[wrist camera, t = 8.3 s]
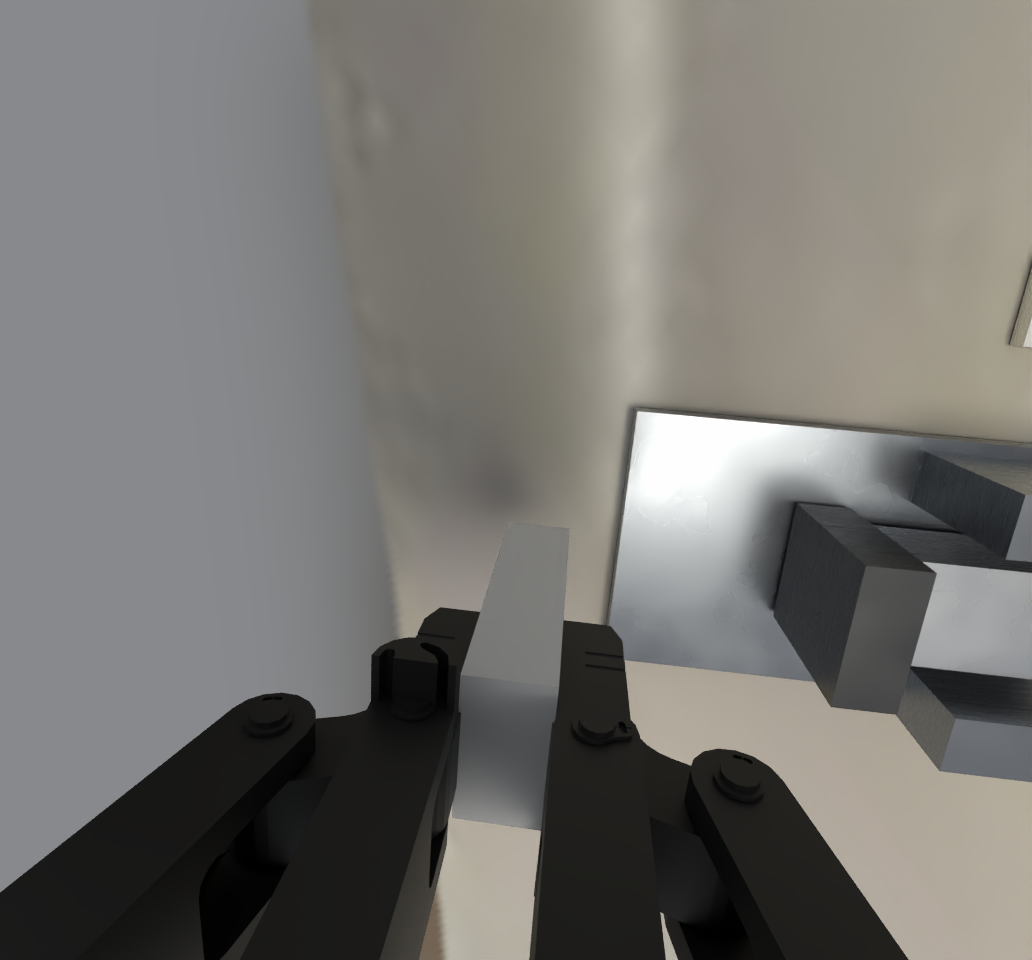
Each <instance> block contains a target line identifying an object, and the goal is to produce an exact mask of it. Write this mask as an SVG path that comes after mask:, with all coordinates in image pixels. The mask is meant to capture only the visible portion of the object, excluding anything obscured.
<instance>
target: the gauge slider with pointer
mask: <svg viewBox="0 0 1032 960" xmlns="http://www.w3.org/2000/svg"><path fill="white" fill-rule="evenodd" d="M773 616H774V618H775V620H776V621H777V623H778V624H779V626H780V627H781V629H782V631H783V632H784V634H785V635H786V637H787V638H788V640H789V642H790V643H791V645H792V646H793V648H794V650H795V651H796V653H797V654H798V656H799V657H800V659H801V661H802V662H803V664H804V665H805V667H806V668H807V670H808V672H809V673H810V675H811V676H812V678H813V679H814V681H815V683H816V684H817V686H818V687H819V689H820V691H821V692H822V694H823V695H824V697H825V698H826V700H827V702H828V703H829V705H830V706H831V707H836V708H844V709H853V710H861V711H870V712H878V713H887V714H896V715H897V714H898V710H899V707H900V703H901V699H902V696H903V692H904V689H905V685H906V682H907V678H908V675H909V671H910V668H911V666H917V667H926V668H935V669H943V670H952V671H961V672H970V673H979V674H988V675H997V676H1006V677H1015V678H1024V679H1032V562H1026V561H1016V560H1006V559H1004V558H1002V557H1001V556H999V555H997V554H996V553H994V552H992V551H991V550H989V549H987V548H986V547H984V546H983V545H981V544H979V543H978V542H976V541H974V540H973V539H971V538H969V537H968V536H966V535H964V534H956V533H946V532H936V531H926V530H916V529H906V528H896V527H886V526H876V525H872V524H871V523H870V522H868V521H867V520H866V519H864V518H863V517H862V516H860V515H859V514H858V513H857V512H855V511H854V510H853V509H851V508H843V507H833V506H823V505H813V504H803V503H797V504H796V509H795V514H794V519H793V524H792V528H791V533H790V538H789V543H788V547H787V552H786V557H785V562H784V566H783V571H782V576H781V581H780V585H779V590H778V595H777V600H776V604H775V609H774V614H773Z"/></svg>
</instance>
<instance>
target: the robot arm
mask: <svg viewBox="0 0 1032 960" xmlns="http://www.w3.org/2000/svg"><path fill="white" fill-rule="evenodd" d="M568 542H569V528H560V527H550V526H541V525H532V524H523V523H514V522H509V524H508V527H507V530H506V534H505V537H504V540H503V543H502V546H501V549H500V552H499V555H498V559H497V562H496V565H495V568H494V571H493V574H492V577H491V581H490V584H489V587H488V590H487V593H486V596H485V599H484V603H483V606H482V609H481V612H475V611H467V610H458V609H450V608H442V607H440V608H439V609H437V610H436V611H435V612H433V613H432V614H430V615H429V616H428V617H426V618H425V619H424V621H423V623H422V625H421V627H420V629H419V631H418V635H417V636H416V638H409V637H408V638H403V639H398V640H393V641H391V642H389V643H387V644H384V645H382V646H380V647H379V648H378V649H377V650H376V651H375V652H374V653H373V654H372V663H371V666H372V667H371V702H370V704H369V706H368V708H367V710H365V711H362V712H360V713H356V714H352V715H346V716H340V717H329V718H318V719H316V713H315V709H314V708H313V706H312V705H311V703H310V702H309V701H307V700H306V699H304V698H302V697H300V696H298V695H293V694H286V693H274V694H264V695H261V696H257V697H254V698H251V699H248V700H246V701H244V702H243V703H241V704H239V705H237V706H236V707H234V708H232V709H231V710H230V711H229V712H228V713H226V714H225V715H224V716H222V717H221V718H220V719H219V720H218V721H216V722H215V723H214V724H212V725H211V726H210V727H209V728H207V729H206V730H205V731H203V732H202V733H201V734H200V735H199V736H197V737H196V738H195V739H193V740H192V741H191V742H190V743H189V744H187V745H186V746H185V747H183V748H182V749H181V750H179V751H178V752H177V753H176V754H175V755H173V756H172V757H171V758H169V759H168V760H167V761H166V762H164V763H163V764H162V765H161V766H159V767H158V768H157V769H156V770H154V771H153V772H152V773H151V774H149V775H148V776H147V777H145V778H144V779H143V780H142V781H141V782H139V783H138V784H137V785H135V786H134V787H133V788H132V789H130V790H129V791H128V792H126V793H125V794H124V795H123V796H121V797H120V798H119V799H118V800H116V801H115V802H114V803H113V804H111V805H110V806H109V807H108V808H106V809H105V810H104V811H103V812H102V813H100V814H99V815H98V816H96V817H95V818H94V819H92V820H91V821H90V822H89V823H87V824H86V825H85V826H84V827H82V828H81V829H80V830H79V831H77V832H76V833H75V834H73V835H72V836H71V837H70V838H68V839H67V840H66V841H65V842H63V843H62V844H61V845H60V846H59V847H57V848H56V849H55V850H53V851H52V852H51V853H49V854H48V855H47V856H46V857H45V858H43V859H42V860H41V861H39V862H38V863H37V864H36V865H34V866H33V867H32V868H31V869H29V870H28V871H27V872H26V873H24V874H23V875H22V876H20V877H19V878H18V879H17V880H16V881H14V882H13V883H12V884H10V885H9V886H8V887H7V888H5V889H4V890H3V891H2V892H0V960H419V957H420V952H421V948H422V944H423V940H424V936H425V932H426V928H427V924H428V920H429V916H430V911H431V907H432V903H433V899H434V895H435V891H436V887H437V883H438V879H439V874H440V870H441V866H442V862H443V858H444V854H445V850H446V846H447V830H448V818H449V814H450V810H451V806H452V803H453V810H452V818H458V819H465V820H471V821H478V822H485V823H492V824H499V825H506V826H513V827H520V828H527V829H534V830H541V837H540V845H539V854H538V863H537V872H536V881H535V890H534V896H535V900H534V912H533V923H532V935H531V946H530V958H529V960H666V958H665V950H664V941H663V932H662V924H661V915H660V912H661V913H664V918H665V924H666V928H667V931H668V934H669V936H670V939H671V942H672V944H673V947H674V950H675V953H676V955H677V958H678V960H908V958H907V957H906V955H905V954H904V953H903V951H902V950H901V948H900V947H899V945H898V944H897V943H896V941H895V940H894V938H893V937H892V935H891V934H890V933H889V931H888V930H887V928H886V927H885V925H884V924H883V923H882V921H881V920H880V918H879V917H878V915H877V914H876V913H875V911H874V910H873V908H872V907H871V906H870V904H869V903H868V901H867V900H866V898H865V897H864V896H863V894H862V893H861V891H860V890H859V888H858V887H857V886H856V884H855V883H854V881H853V880H852V878H851V877H850V876H849V874H848V873H847V871H846V870H845V868H844V867H843V866H842V864H841V863H840V861H839V860H838V858H837V857H836V856H835V854H834V853H833V851H832V850H831V849H830V847H829V846H828V844H827V843H826V841H825V840H824V839H823V837H822V836H821V834H820V833H819V831H818V830H817V829H816V827H815V826H814V824H813V823H812V821H811V820H810V819H809V817H808V816H807V814H806V813H805V811H804V810H803V809H802V807H801V806H800V804H799V803H798V801H797V800H796V799H795V797H794V796H793V794H792V793H791V791H790V790H789V789H788V787H787V786H786V784H785V783H784V782H783V780H782V779H781V778H780V777H779V776H778V775H777V774H776V773H775V772H774V771H773V770H772V769H771V768H770V767H769V766H767V765H766V764H764V763H763V762H761V761H759V760H758V759H756V758H755V757H753V756H750V755H747V754H744V753H741V752H738V751H735V750H726V749H714V750H709V751H704V752H702V753H701V754H700V755H698V756H697V757H696V758H694V760H693V763H692V766H690V765H687V764H685V763H682V762H679V761H676V760H674V759H671V758H669V757H667V756H665V755H662V754H660V753H658V752H657V751H655V750H654V749H652V748H651V747H649V746H648V745H646V744H645V743H644V742H643V741H642V740H641V739H640V735H639V733H638V730H637V728H636V725H635V724H634V723H633V722H632V721H631V719H630V710H629V700H628V690H627V680H626V672H625V661H624V651H623V642H622V640H621V638H620V637H619V636H618V634H617V633H616V632H615V631H614V629H613V628H612V627H611V626H607V625H598V624H590V623H582V622H573V621H565V620H563V619H564V603H565V588H566V573H567V558H568Z"/></svg>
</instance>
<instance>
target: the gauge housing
mask: <svg viewBox="0 0 1032 960" xmlns="http://www.w3.org/2000/svg"><path fill="white" fill-rule="evenodd" d="M1010 345H1012V346H1022V347H1032V268H1031V272H1030V275H1029V279H1028V282H1027V286H1026V289H1025V293H1024V296H1023V300H1022V303H1021V307H1020V310H1019V314H1018V317H1017V321H1016V324H1015V328H1014V331H1013V335H1012V338H1011V342H1010ZM797 503H803V504H813V505H823V506H833V507H843V508H851V509H853V510H854V511H855V512H857V513H858V514H859V515H860V516H862V517H863V518H864V519H866V520H867V521H868V522H870V523H871V524H872V525H876V526H886V527H896V528H906V529H916V530H926V531H936V532H946V533H956V534H964V535H966V536H968V537H969V538H971V539H973V540H974V541H976V542H978V543H979V544H981V545H983V546H984V547H986V548H987V549H989V550H991V551H992V552H994V553H996V554H997V555H999V556H1001V557H1002V558H1004V559H1006V560H1016V561H1026V562H1032V443H1021V442H1010V441H999V440H988V439H978V438H967V437H956V436H945V435H934V434H923V433H912V432H902V431H891V430H880V429H869V428H858V427H847V426H836V425H826V424H815V423H804V422H793V421H782V420H771V419H760V418H750V417H739V416H728V415H717V414H706V413H695V412H684V411H674V410H663V409H652V408H641V407H635V410H634V418H633V425H632V433H631V441H630V448H629V456H628V463H627V471H626V479H625V486H624V494H623V501H622V509H621V517H620V524H619V532H618V539H617V547H616V555H615V562H614V570H613V577H612V585H611V592H610V600H609V608H608V615H607V623H606V625H607V626H611V627H612V628H613V629H614V631H615V632H616V633H617V634H618V636H619V637H620V638H621V640H622V642H623V651H624V660H629V661H638V662H647V663H655V664H664V665H673V666H681V667H690V668H699V669H708V670H716V671H725V672H734V673H743V674H751V675H760V676H769V677H777V678H786V679H795V680H804V681H812V682H815V681H814V679H813V678H812V676H811V675H810V673H809V672H808V670H807V668H806V667H805V665H804V664H803V662H802V661H801V659H800V657H799V656H798V654H797V653H796V651H795V650H794V648H793V646H792V645H791V643H790V642H789V640H788V638H787V637H786V635H785V634H784V632H783V631H782V629H781V627H780V626H779V624H778V623H777V621H776V620H775V618H774V616H773V614H774V609H775V604H776V600H777V595H778V590H779V585H780V581H781V576H782V571H783V566H784V562H785V557H786V552H787V547H788V543H789V538H790V533H791V528H792V524H793V519H794V514H795V509H796V504H797ZM896 716H897V717H898V718H899V720H900V721H901V722H902V723H903V725H904V726H905V727H906V729H907V730H908V731H909V732H910V734H911V735H912V736H913V738H914V739H915V740H916V741H917V743H918V744H919V745H920V747H921V748H922V749H923V750H924V752H925V753H926V754H927V756H928V757H929V758H930V759H931V761H932V762H933V763H934V765H935V766H936V767H937V768H938V770H939V771H943V772H952V773H960V774H968V775H977V776H985V777H993V778H1001V779H1010V780H1018V781H1026V782H1032V679H1024V678H1015V677H1006V676H997V675H988V674H979V673H970V672H961V671H952V670H943V669H935V668H926V667H917V666H911V668H910V671H909V675H908V678H907V682H906V685H905V689H904V692H903V696H902V699H901V703H900V707H899V710H898V714H897V715H896Z"/></svg>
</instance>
